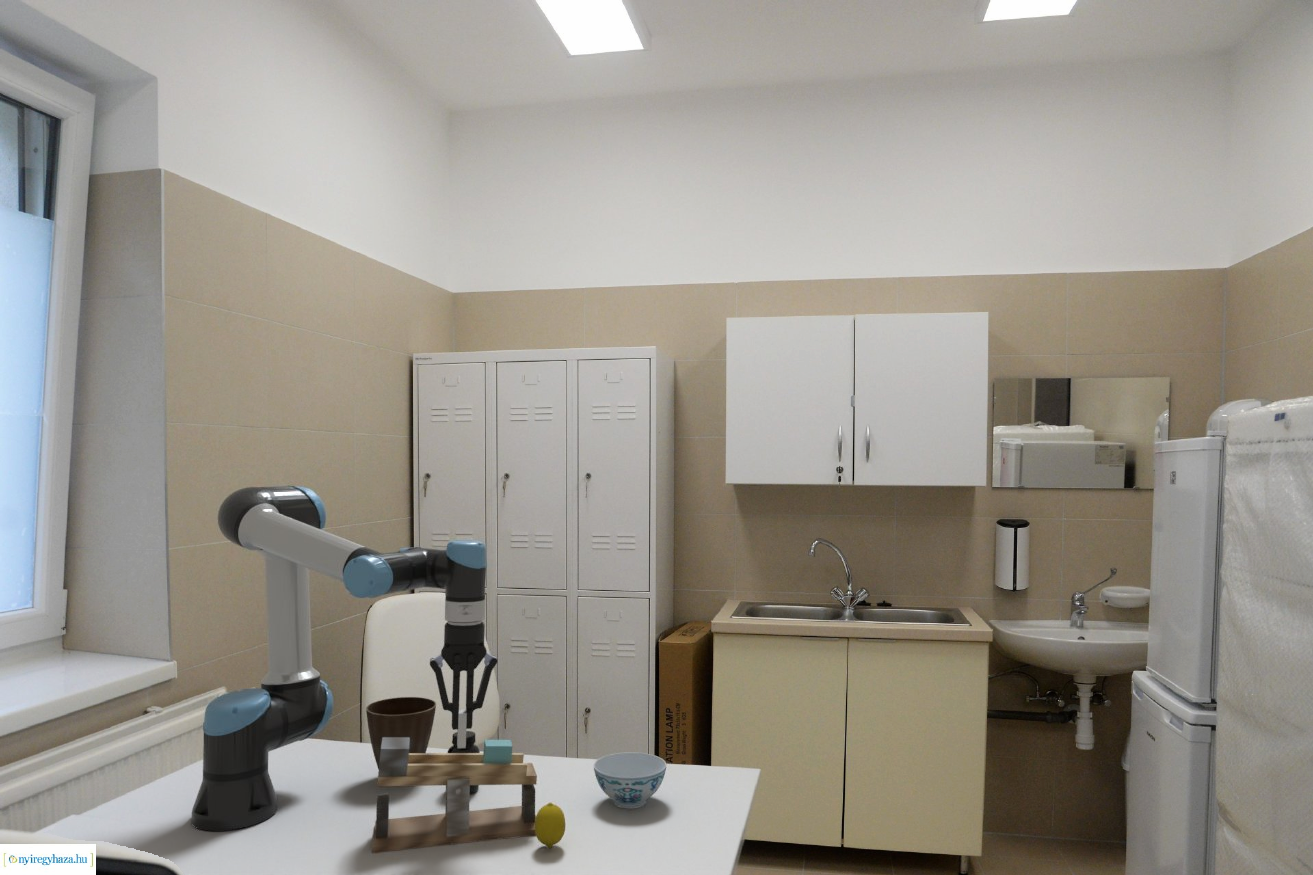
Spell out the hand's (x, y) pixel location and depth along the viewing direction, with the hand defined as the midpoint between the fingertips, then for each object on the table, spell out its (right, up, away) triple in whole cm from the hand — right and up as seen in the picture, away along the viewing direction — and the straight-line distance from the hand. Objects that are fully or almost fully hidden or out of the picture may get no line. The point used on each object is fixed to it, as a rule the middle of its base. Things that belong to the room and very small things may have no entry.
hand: (461, 745), depth 164 cm
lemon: (+18, -16, -8) cm, 25 cm away
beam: (-1, -7, -1) cm, 7 cm away
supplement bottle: (-4, -17, +19) cm, 25 cm away
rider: (+6, -5, +1) cm, 8 cm away
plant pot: (-19, -17, +26) cm, 36 cm away
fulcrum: (-1, -16, -1) cm, 16 cm away
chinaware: (+32, -17, +13) cm, 38 cm away
